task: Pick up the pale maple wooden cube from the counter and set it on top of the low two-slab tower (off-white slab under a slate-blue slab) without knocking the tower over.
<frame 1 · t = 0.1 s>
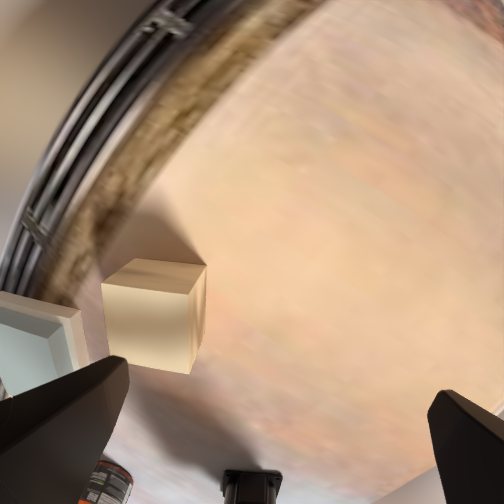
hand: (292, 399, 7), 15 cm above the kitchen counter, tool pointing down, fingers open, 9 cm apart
maple cube: (170, 296, 23), on the kitchen counter
supplement bottle: (114, 471, 31), on the kitchen counter
top block: (36, 357, 24), point 2 cm above the kitchen counter, touching bottom block
bottom block: (50, 345, 26), on the kitchen counter, touching top block
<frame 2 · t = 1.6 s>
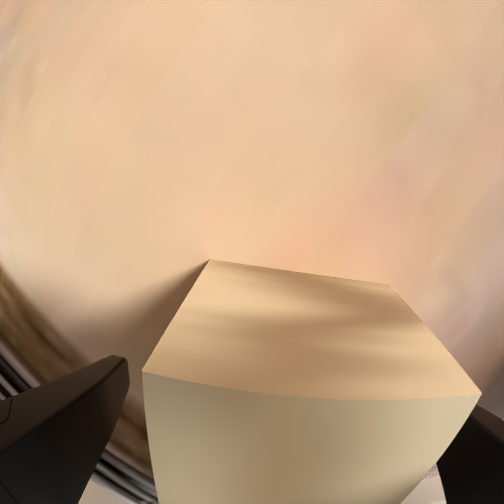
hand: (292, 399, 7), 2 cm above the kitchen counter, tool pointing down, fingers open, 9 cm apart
maple cube: (286, 350, 10), on the kitchen counter
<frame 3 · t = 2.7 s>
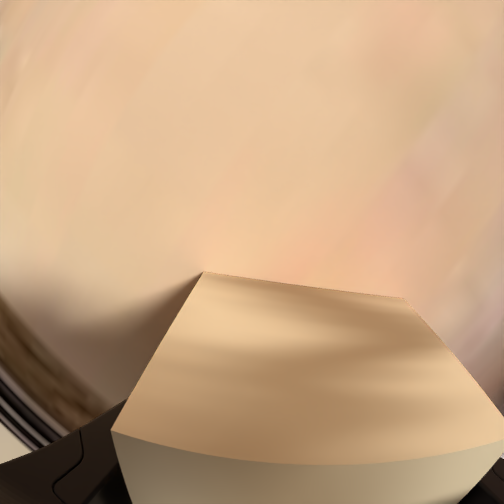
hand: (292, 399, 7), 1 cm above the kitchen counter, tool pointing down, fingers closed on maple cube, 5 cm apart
maple cube: (290, 372, 9), on the kitchen counter, touching gripper
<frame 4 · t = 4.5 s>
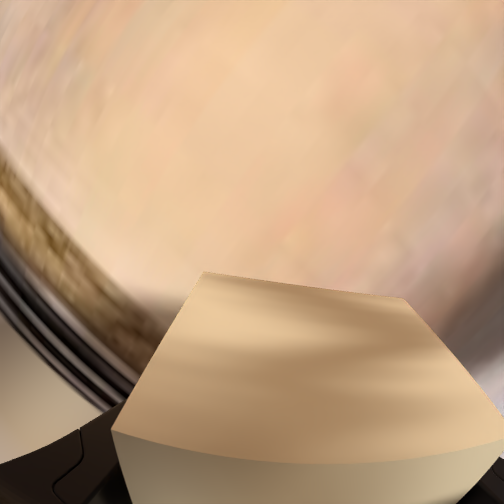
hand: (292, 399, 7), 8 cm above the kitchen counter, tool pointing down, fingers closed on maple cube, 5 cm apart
maple cube: (289, 372, 9), point 6 cm above the kitchen counter, touching gripper
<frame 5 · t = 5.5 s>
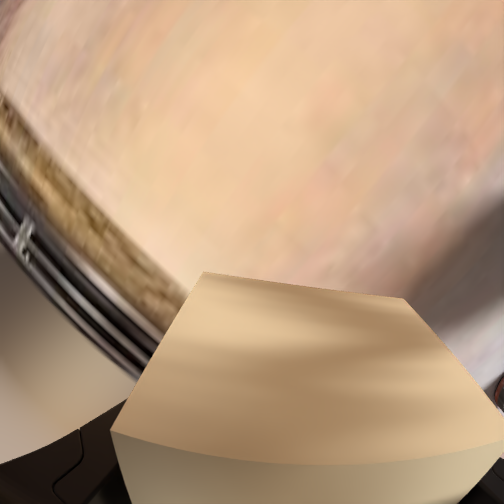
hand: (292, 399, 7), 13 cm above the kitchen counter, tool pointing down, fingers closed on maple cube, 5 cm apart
maple cube: (289, 372, 9), point 12 cm above the kitchen counter, touching gripper
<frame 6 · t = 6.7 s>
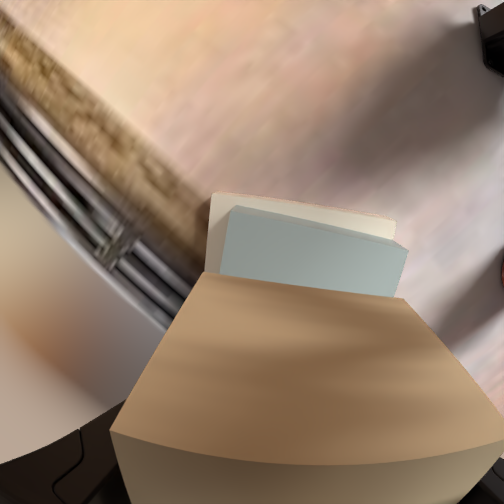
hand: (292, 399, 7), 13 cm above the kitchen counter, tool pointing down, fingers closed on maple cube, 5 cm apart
maple cube: (289, 372, 9), point 12 cm above the kitchen counter, touching gripper
top block: (298, 298, 19), point 2 cm above the kitchen counter, touching bottom block
bottom block: (291, 282, 21), on the kitchen counter, touching top block
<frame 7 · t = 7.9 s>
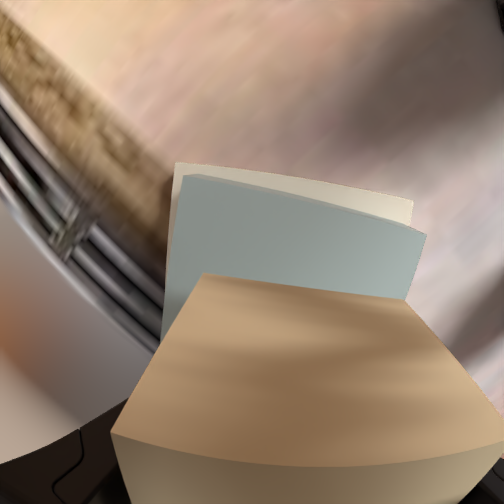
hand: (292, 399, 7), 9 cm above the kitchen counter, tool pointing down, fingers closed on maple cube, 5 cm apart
maple cube: (289, 373, 9), point 8 cm above the kitchen counter, touching gripper
top block: (280, 297, 14), point 2 cm above the kitchen counter, touching bottom block
bottom block: (278, 279, 17), on the kitchen counter, touching top block
when the fingers open (8 cm above the kitchen counter, at t = 9.3 s): maple cube drops 2 cm, resting on top block.
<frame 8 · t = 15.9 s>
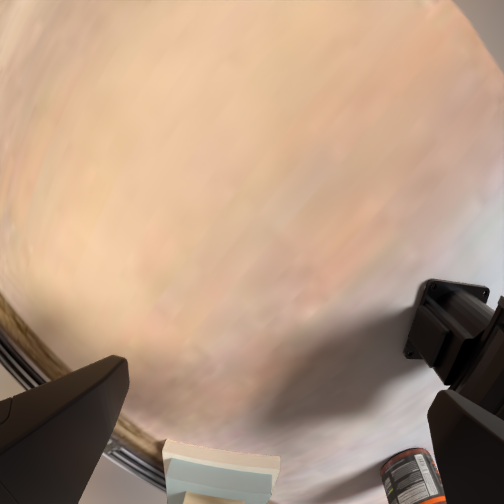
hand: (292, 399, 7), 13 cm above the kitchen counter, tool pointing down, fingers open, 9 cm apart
supplement bottle: (404, 460, 25), on the kitchen counter
top block: (217, 490, 25), point 2 cm above the kitchen counter, touching bottom block, maple cube
bottom block: (220, 472, 27), on the kitchen counter, touching top block
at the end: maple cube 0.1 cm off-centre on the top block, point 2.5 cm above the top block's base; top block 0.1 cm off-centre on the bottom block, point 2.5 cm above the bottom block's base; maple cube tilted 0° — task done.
